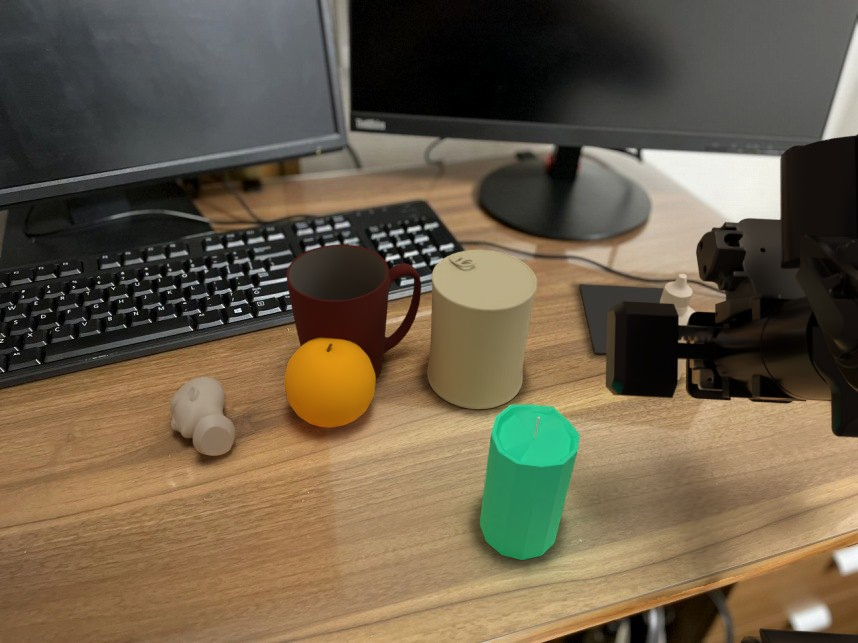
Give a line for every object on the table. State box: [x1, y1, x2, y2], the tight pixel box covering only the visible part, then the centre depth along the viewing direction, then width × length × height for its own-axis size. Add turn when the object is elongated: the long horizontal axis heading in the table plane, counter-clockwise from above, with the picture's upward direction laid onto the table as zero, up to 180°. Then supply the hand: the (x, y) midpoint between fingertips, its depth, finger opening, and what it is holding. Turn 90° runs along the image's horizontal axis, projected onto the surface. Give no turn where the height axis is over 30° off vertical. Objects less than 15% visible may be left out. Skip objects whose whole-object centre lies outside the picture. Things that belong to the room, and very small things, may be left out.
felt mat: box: [579, 283, 664, 356], centre depth 72 cm, size 12×10×1 cm
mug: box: [286, 244, 422, 379], centre depth 62 cm, size 12×9×11 cm
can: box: [426, 249, 538, 410], centre depth 61 cm, size 9×9×12 cm
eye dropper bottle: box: [660, 273, 696, 381], centre depth 62 cm, size 4×6×12 cm
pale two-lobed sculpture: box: [169, 376, 236, 457], centre depth 57 cm, size 4×8×5 cm
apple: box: [283, 338, 377, 428], centre depth 58 cm, size 8×8×8 cm
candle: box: [479, 403, 581, 561], centre depth 48 cm, size 6×6×12 cm
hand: (702, 362), depth 53 cm, fingers closed
